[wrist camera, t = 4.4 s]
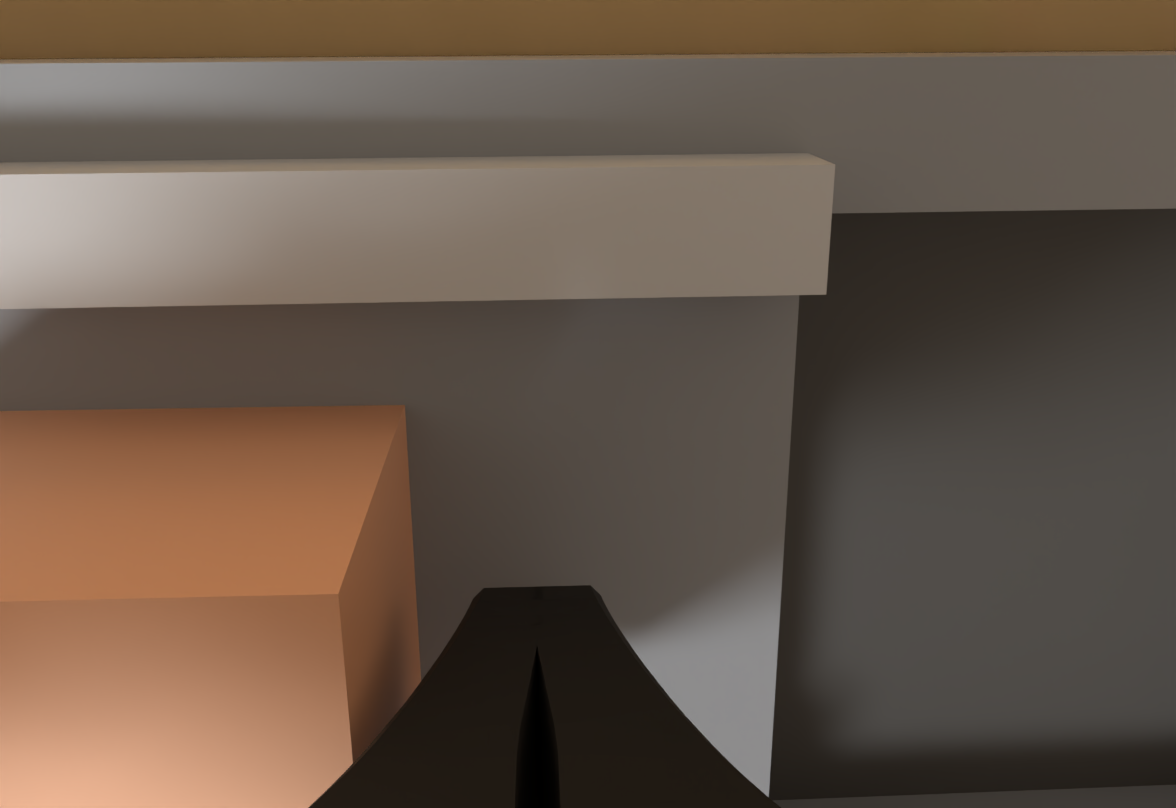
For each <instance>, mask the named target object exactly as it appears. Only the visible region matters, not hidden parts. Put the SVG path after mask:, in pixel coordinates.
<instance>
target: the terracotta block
mask: <svg viewBox="0 0 1176 808" xmlns="http://www.w3.org/2000/svg"><path fill="white" fill-rule="evenodd" d="M420 682H421V669H420V653H419V636H418V619H417V602H416V585H415V568H414V551H413V534H412V518H411V501H410V484H409V467H408V450H407V433H406V416H405V405H365V406H299V407H233V408H167V409H102V410H36V411H0V808H308V807H310V806H311V805H312V804H313V803H314V802H315V801H316V800H317V799H318V798H319V797H320V796H321V795H322V794H323V793H324V792H325V791H326V790H327V789H328V788H329V787H330V786H331V785H332V784H333V783H334V782H335V781H336V780H337V779H338V778H339V777H340V776H341V775H342V774H343V773H344V772H345V771H346V770H347V769H348V768H349V767H350V766H351V765H352V764H353V763H354V762H355V761H356V759H357V758H358V757H359V756H360V755H361V754H362V753H363V752H364V751H365V750H366V749H367V747H368V746H369V745H370V744H371V743H372V742H373V740H374V739H375V738H376V737H377V736H378V734H379V733H380V732H381V731H382V730H383V728H384V727H385V726H386V725H387V724H388V723H389V721H390V720H391V719H392V718H393V717H394V715H395V714H396V713H397V712H398V711H399V709H400V708H401V707H402V706H403V705H404V703H405V702H406V701H407V700H408V698H409V697H410V696H411V694H412V693H413V692H414V690H415V689H416V688H417V686H418V685H419V683H420Z"/></svg>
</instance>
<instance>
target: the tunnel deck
mask: <svg viewBox="0 0 1176 808" xmlns="http://www.w3.org/2000/svg"><path fill="white" fill-rule="evenodd" d="M365 405H405V416H406V433H407V450H408V467H409V484H410V501H411V518H412V534H413V551H414V568H415V585H416V602H417V619H418V636H419V653H420V669H421V681H422V679H423V678H424V676H425V675H426V674H427V672H428V671H429V670H430V668H431V667H432V665H433V664H434V663H435V661H436V660H437V658H438V657H439V656H440V654H441V653H442V651H443V650H444V648H445V646H446V645H447V643H448V642H449V640H450V639H451V637H452V636H453V634H454V632H455V631H456V629H457V627H458V626H459V624H460V622H461V621H462V619H463V617H464V615H465V614H466V612H467V610H468V608H469V606H470V604H471V602H472V600H473V598H474V597H475V596H476V595H477V594H478V593H479V592H480V591H481V590H482V589H483V588H500V587H539V586H578V585H591V586H592V587H593V588H594V589H595V590H596V591H597V592H598V593H599V594H600V595H601V597H602V599H603V601H604V603H605V605H606V607H607V609H608V611H609V612H610V614H611V616H612V617H613V619H614V621H615V622H616V624H617V626H618V627H619V629H620V630H621V632H622V633H623V635H624V636H625V638H626V639H627V641H628V642H629V644H630V645H631V647H632V648H633V650H634V651H635V653H636V654H637V655H638V657H639V658H640V659H641V661H642V662H643V664H644V665H645V666H646V667H647V669H648V670H649V671H650V673H651V674H652V675H653V676H654V678H655V679H656V680H657V681H658V683H659V684H660V685H661V687H662V688H663V689H664V690H665V692H666V693H667V694H668V696H669V697H670V698H671V699H672V700H673V702H674V703H675V704H676V705H677V706H678V707H679V709H680V710H681V711H682V712H683V713H684V714H685V716H686V717H687V718H688V719H689V720H690V721H691V722H692V723H693V724H694V725H695V727H696V728H697V729H698V730H699V731H700V732H701V733H702V734H703V735H704V736H705V737H706V738H707V740H708V741H709V742H710V743H711V744H712V745H713V746H714V747H715V748H716V749H717V750H718V751H719V752H720V753H721V754H722V755H723V756H724V757H725V758H726V759H727V760H728V761H729V762H730V763H731V764H732V765H733V766H734V767H735V768H736V769H737V770H738V771H739V772H740V773H742V774H743V775H744V776H745V777H746V778H747V779H748V780H749V781H750V782H752V783H753V784H754V785H755V786H756V787H757V788H758V789H760V790H761V791H762V792H763V793H764V794H765V795H766V796H767V797H769V798H770V799H771V800H772V801H774V802H775V803H776V804H777V805H779V806H780V807H781V808H1176V51H1082V52H944V53H807V54H670V55H532V56H395V57H257V58H120V59H0V411H36V410H102V409H167V408H233V407H299V406H365Z"/></svg>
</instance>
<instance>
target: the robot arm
mask: <svg viewBox="0 0 1176 808" xmlns="http://www.w3.org/2000/svg"><path fill="white" fill-rule="evenodd" d="M308 808H781V807H780V806H779V805H777V804H776V803H775V802H774V801H772V800H771V799H770V798H769V797H767V796H766V795H765V794H764V793H763V792H762V791H761V790H760V789H758V788H757V787H756V786H755V785H754V784H753V783H752V782H750V781H749V780H748V779H747V778H746V777H745V776H744V775H743V774H742V773H740V772H739V771H738V770H737V769H736V768H735V767H734V766H733V765H732V764H731V763H730V762H729V761H728V760H727V759H726V758H725V757H724V756H723V755H722V754H721V753H720V752H719V751H718V750H717V749H716V748H715V747H714V746H713V745H712V744H711V743H710V742H709V741H708V740H707V738H706V737H705V736H704V735H703V734H702V733H701V732H700V731H699V730H698V729H697V728H696V727H695V725H694V724H693V723H692V722H691V721H690V720H689V719H688V718H687V717H686V716H685V714H684V713H683V712H682V711H681V710H680V709H679V707H678V706H677V705H676V704H675V703H674V702H673V700H672V699H671V698H670V697H669V696H668V694H667V693H666V692H665V690H664V689H663V688H662V687H661V685H660V684H659V683H658V681H657V680H656V679H655V678H654V676H653V675H652V674H651V673H650V671H649V670H648V669H647V667H646V666H645V665H644V664H643V662H642V661H641V659H640V658H639V657H638V655H637V654H636V653H635V651H634V650H633V648H632V647H631V645H630V644H629V642H628V641H627V639H626V638H625V636H624V635H623V633H622V632H621V630H620V629H619V627H618V626H617V624H616V622H615V621H614V619H613V617H612V616H611V614H610V612H609V611H608V609H607V607H606V605H605V603H604V601H603V599H602V597H601V595H600V594H599V593H598V592H597V591H596V590H595V589H594V588H593V587H592V586H591V585H578V586H539V587H500V588H483V589H482V590H481V591H480V592H479V593H478V594H477V595H476V596H475V597H474V598H473V600H472V602H471V604H470V606H469V608H468V610H467V612H466V614H465V615H464V617H463V619H462V621H461V622H460V624H459V626H458V627H457V629H456V631H455V632H454V634H453V636H452V637H451V639H450V640H449V642H448V643H447V645H446V646H445V648H444V650H443V651H442V653H441V654H440V656H439V657H438V658H437V660H436V661H435V663H434V664H433V665H432V667H431V668H430V670H429V671H428V672H427V674H426V675H425V676H424V678H423V679H422V681H421V682H420V683H419V685H418V686H417V688H416V689H415V690H414V692H413V693H412V694H411V696H410V697H409V698H408V700H407V701H406V702H405V703H404V705H403V706H402V707H401V708H400V709H399V711H398V712H397V713H396V714H395V715H394V717H393V718H392V719H391V720H390V721H389V723H388V724H387V725H386V726H385V727H384V728H383V730H382V731H381V732H380V733H379V734H378V736H377V737H376V738H375V739H374V740H373V742H372V743H371V744H370V745H369V746H368V747H367V749H366V750H365V751H364V752H363V753H362V754H361V755H360V756H359V757H358V758H357V759H356V761H355V762H354V763H353V764H352V765H351V766H350V767H349V768H348V769H347V770H346V771H345V772H344V773H343V774H342V775H341V776H340V777H339V778H338V779H337V780H336V781H335V782H334V783H333V784H332V785H331V786H330V787H329V788H328V789H327V790H326V791H325V792H324V793H323V794H322V795H321V796H320V797H319V798H318V799H317V800H316V801H315V802H314V803H313V804H312V805H311V806H310V807H308Z"/></svg>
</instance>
